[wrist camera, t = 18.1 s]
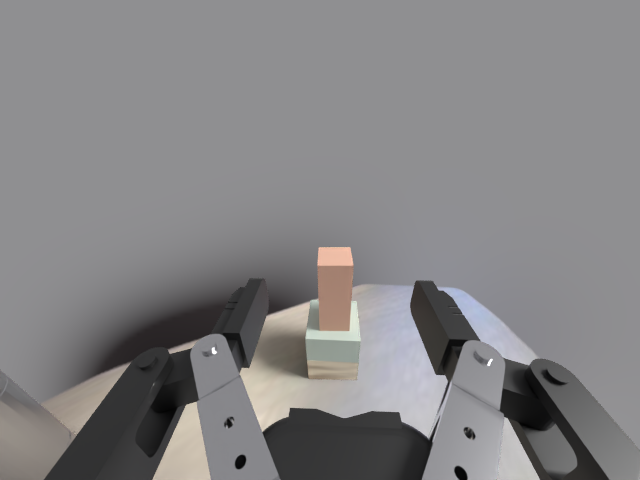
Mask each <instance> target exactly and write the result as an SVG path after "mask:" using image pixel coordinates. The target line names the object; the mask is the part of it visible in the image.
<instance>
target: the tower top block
mask: <svg viewBox="0 0 640 480" xmlns="http://www.w3.org/2000/svg"><path fill="white" fill-rule="evenodd" d="M305 342H306V354H307V360H312V361H332V362H352V363H359V352H360V342H361V341H360V331H359V321H358V312H357V302H356V301H351V315H350V331H320V326H319V300H311V302H310V309H309V316H308V323H307V330H306V337H305Z"/></svg>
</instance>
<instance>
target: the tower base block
mask: <svg viewBox="0 0 640 480" xmlns="http://www.w3.org/2000/svg"><path fill="white" fill-rule="evenodd" d="M307 364H308V377H309V379H333V380H357V374H358V364H359V363H352V362H332V361H312V360H307Z"/></svg>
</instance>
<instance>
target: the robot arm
mask: <svg viewBox="0 0 640 480" xmlns="http://www.w3.org/2000/svg"><path fill="white" fill-rule="evenodd" d="M268 308H269V298H268V292H267V286H266V281H265V279H264V278H250V279H249V281H248V283H247V285H246V287H245V288H241V287H240V288H239V289H238V290H237V291H235V292H234V293H233V294H232V296H231V298H230V299H229V301H228V303H227V305H226V307H225V310H223V312H222V314H221V316H220V317H219V319H218V321H217V323H216V325H215V326H214V328H213V330H212V332H211V334H210V335H208V336H205V337H203V338H202V339H200V340H199V341H198V342H197V343H196V344H195V345H194V346H193V348H191V349H188V350H184V351H180V352H176V353H172V354H169V352H168V350H167V349H166V348H163V347H156V348H152V349H149V350H147V351H145V352H143V353H142V354H140V355H139V356H137V357H136V358H135V359H134V360H133V361H132V362H131V364H130V365H129V366H128V368H127V369H126V370H125V372H124V373H123V374H122V376H121V377H120V378H119V380H118V381H117V382H116V384H115V385H114V386H113V388H112V389H111V390H110V392H109V393H108V394H107V396H106V397H105V398H104V400H103V401H102V402H101V404H100V405H99V406H98V408H97V409H96V410H95V412H94V413H93V414H92V416H91V417H90V418H89V420H88V421H87V422H86V424H85V425H84V426H83V428H82V429H81V430H80V432H79V433H78V434H77V436H76V435H75V434H74V433H73V432H71V431H70V430H69V429H68V428H67V427H66V426H65V425H63V424H62V423H61V422H60V421H59V420H58V419H57V418H56V417H54V416H53V415H52V414H51V413H50V412H49V411H48V410H46V409H45V408H44V407H43V406H42V405H41V404H40V403H38V402H37V401H36V400H35V399H34V398H33V397H31V396H30V395H29V394H28V393H27V392H26V391H24V390H23V389H22V388H21V387H20V386H19V385H18V384H17V383H15V382H14V381H13V380H12V379H11V378H10V377H8V376H7V375H6V374H5V373H4V372H2V371H1V370H0V480H152V479H153V477H154V474H155V472H156V470H157V468H158V466H159V463H160V461H161V459H162V457H163V454H164V452H165V450H166V448H167V446H168V443H169V441H170V439H171V437H172V435H173V432H174V430H175V428H176V426H177V423H178V421H179V419H180V417H181V415H182V412H183V410H184V408H185V406H186V405H187V404H190V403H193V402H196V401H197V408H198V413H199V418H200V424H201V429H202V434H203V439H204V445H205V450H206V455H207V460H208V466H209V471H210V476H211V480H497V479H498V471H499V462H500V453H501V444H502V435H503V426H504V417H506V418H508V419H509V421H510V423H511V425H512V427H513V429H514V431H515V433H516V435H517V437H518V438H519V440H520V442H521V444H522V446H523V448H524V450H525V452H526V454H527V455H528V457H529V459H530V461H531V463H532V465H533V467H534V469H535V471H536V473H537V474H538V476H539V478H540V480H640V450H639V449H638V447H637V446H636V445H635V444H634V443H633V442H632V441H631V439H630V438H629V437H628V436H627V435H626V434H625V433H624V431H623V430H622V429H621V428H620V427H619V426H618V424H617V423H616V422H615V421H614V420H613V419H612V418H611V416H610V415H609V414H608V413H607V412H606V411H605V410H604V408H603V407H602V406H601V405H600V404H599V403H598V402H597V400H596V399H595V398H594V397H593V396H592V395H591V394H590V392H589V391H588V390H587V389H586V388H585V387H584V386H583V384H582V383H581V382H580V381H579V380H578V379H577V378H576V377H575V375H573V374H572V373H571V372H570V371H569V370H567V369H566V368H564V367H563V366H561V365H559V364H557V363H555V362H552V361H549V360H546V359H535V360H533V361H532V362H531V364H530V365H529V366H528V365H525V364H521V363H518V362H515V361H511V360H508V359H505V358H503V357H502V356H501V354H500V353H499V352H498V351H497V350H496V349H494V348H493V347H491V346H490V345H488V344H486V343H484V342H481V341H480V339H479V338H478V336H477V335H476V333H475V332H474V330H473V329H472V327H471V326H470V324H469V323H468V321H467V320H466V318H465V317H464V315H462V312H461V310H460V309H459V308H458V306H457V304H456V303H455V301H454V300H453V298H452V297H450V296H449V295H448V294H447V293H445V292H444V291H439V290H438V289H437V287H436V285H435V284H434V283H433V281H416V282H415V285H414V289H413V294H412V298H411V303H410V308H411V314H412V316H413V319H414V321H415V324H416V326H417V329H418V331H419V334H420V336H421V339H422V341H423V344H424V346H425V349H426V351H427V354H428V356H429V359H430V361H431V364H432V366H433V369H434V371H435V374H436V375H445V376H446V378H447V380H448V382H447V385H446V388H445V391H444V393H443V396H442V399H441V402H440V405H439V408H438V411H437V414H436V417H435V420H434V423H433V426H432V428H431V431H430V434H429V436H428V438H427V437H426V436H425V435H423V434H422V433H421V432H420V431H418V430H417V429H415V428H413V427H412V426H410V425H408V424H406V423H403V422H401V418H400V414H399V412H376V411H371V412H368V413H364V414H360V415H357V416H353V417H349V418H341V417H338V416H335V415H332V414H329V413H326V412H323V411H321V410H318V409H303V408H290V412H289V417H287V418H283V419H281V420H279V421H277V422H275V423H273V424H272V425H270V426H269V427H268V428H267V429H265V430H264V431H263V432H262V430H261V428H260V425H259V423H258V420H257V417H256V415H255V412H254V410H253V407H252V404H251V402H250V399H249V397H248V394H247V391H246V389H245V386H244V383H243V381H242V378H241V376H240V374H239V373H240V370H241V368H249V367H250V364H251V361H252V358H253V355H254V352H255V349H256V346H257V343H258V340H259V337H260V334H261V331H262V328H263V324H264V321H265V318H266V315H267V312H268Z"/></svg>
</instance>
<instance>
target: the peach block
mask: <svg viewBox="0 0 640 480" xmlns="http://www.w3.org/2000/svg"><path fill="white" fill-rule="evenodd" d="M352 282H353V260H352V254H351V249H350V247H328V248H327V247H325V248H324V247H319V252H318V293H319V326H320V331H350V315H351V298H352Z"/></svg>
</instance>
